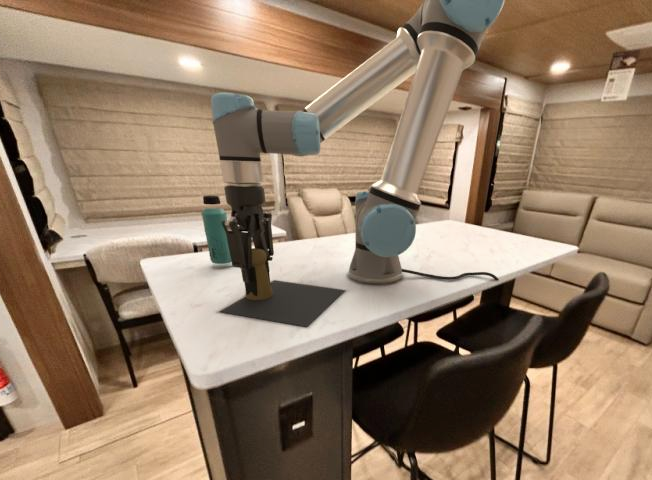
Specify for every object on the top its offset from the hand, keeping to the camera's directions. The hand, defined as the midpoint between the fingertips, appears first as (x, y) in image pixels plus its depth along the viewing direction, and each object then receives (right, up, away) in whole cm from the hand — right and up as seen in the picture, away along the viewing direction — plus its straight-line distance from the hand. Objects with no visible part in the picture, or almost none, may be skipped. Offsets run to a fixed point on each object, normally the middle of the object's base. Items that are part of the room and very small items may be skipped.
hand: (259, 290), depth 72 cm
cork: (0, -1, +1) cm, 1 cm away
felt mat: (+7, -2, -1) cm, 8 cm away
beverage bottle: (-19, +8, +20) cm, 28 cm away
